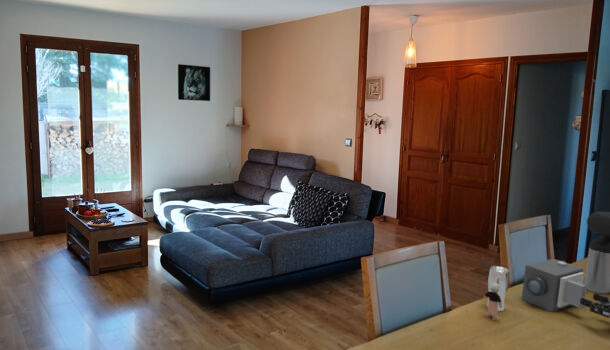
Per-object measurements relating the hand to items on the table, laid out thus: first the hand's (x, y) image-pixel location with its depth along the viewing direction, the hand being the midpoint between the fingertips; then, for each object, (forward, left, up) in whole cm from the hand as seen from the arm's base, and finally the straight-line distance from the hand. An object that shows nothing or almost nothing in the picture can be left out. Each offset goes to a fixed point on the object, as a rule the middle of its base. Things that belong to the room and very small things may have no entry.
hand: (587, 298), depth 160 cm
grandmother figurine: (+33, +3, -8) cm, 35 cm away
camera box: (+6, -14, -8) cm, 17 cm away
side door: (0, -6, -6) cm, 9 cm away
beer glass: (+29, -5, -8) cm, 31 cm away
